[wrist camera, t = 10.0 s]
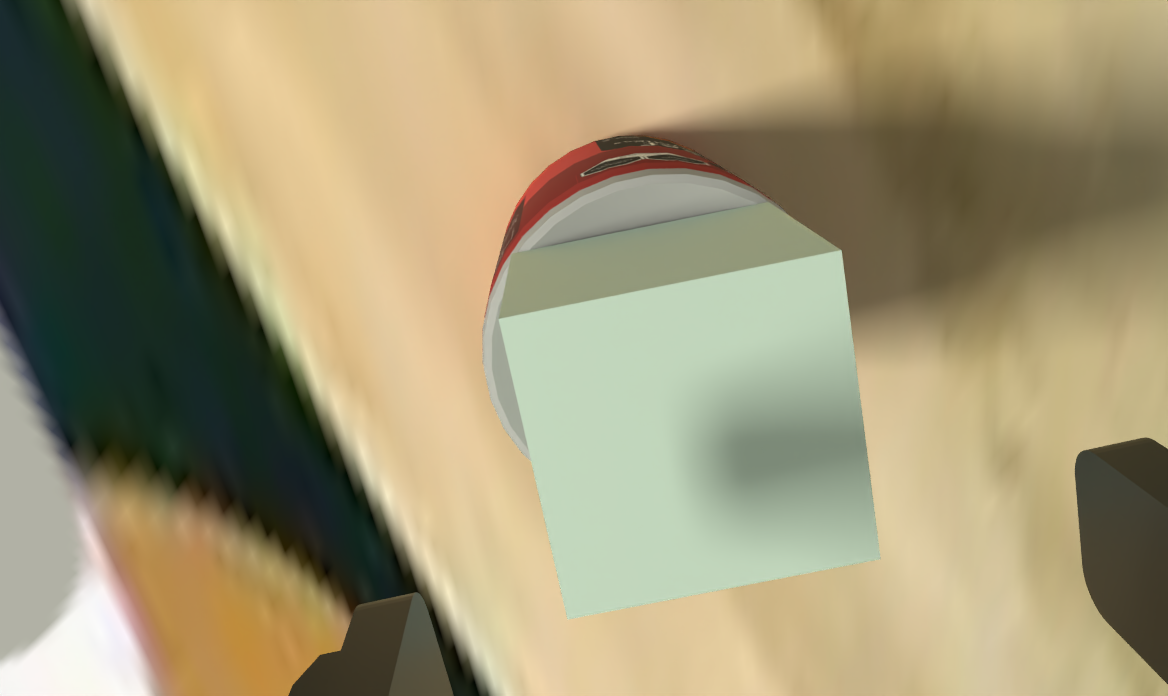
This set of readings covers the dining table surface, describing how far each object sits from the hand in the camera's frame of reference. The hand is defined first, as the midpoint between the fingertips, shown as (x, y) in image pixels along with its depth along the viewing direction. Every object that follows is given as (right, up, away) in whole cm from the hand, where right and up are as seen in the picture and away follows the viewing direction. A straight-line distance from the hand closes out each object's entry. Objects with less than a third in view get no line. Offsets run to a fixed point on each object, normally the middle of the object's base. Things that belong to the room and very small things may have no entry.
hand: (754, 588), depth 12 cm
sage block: (0, +3, +10) cm, 10 cm away
